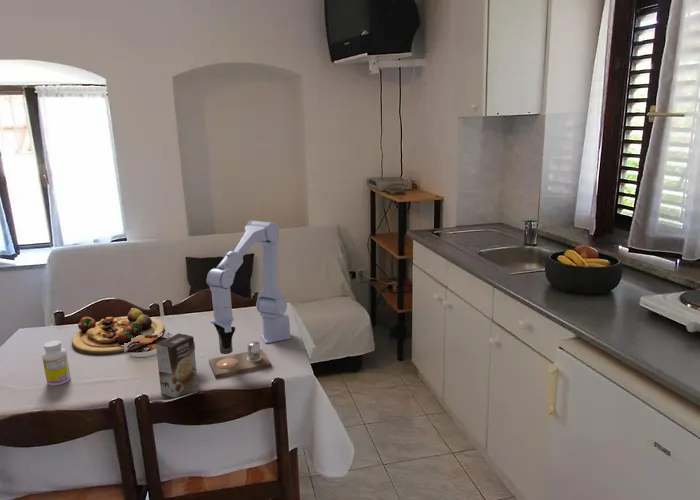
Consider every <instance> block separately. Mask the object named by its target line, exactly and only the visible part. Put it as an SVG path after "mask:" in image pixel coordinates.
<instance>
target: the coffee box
mask: <svg viewBox="0 0 700 500" xmlns="http://www.w3.org/2000/svg"><path fill="white" fill-rule="evenodd" d="M194 339H195V338H194V336H192V335H188V334H186V333H185V334H184V333H177V334H174V335H172V336H169V337H167V338H165V339H163V340H161V341H158V342H156V343H155V349H156V359H157V367H158V377H159V385H160V386H159V387H160V393H161V394H164V395H165V396H168V397H171V398H177V397H179V396H182V395H183V394H184V393H186V392H188V391H190V390H191V389H193V388H195V387H197V386H198V385H199V384H198V383H199V382H198V374H197V373H198V372H197V362H196V352H195V351H196V348H195V349H194V342H195V340H194Z"/></svg>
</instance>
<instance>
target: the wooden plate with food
mask: <svg viewBox="0 0 700 500" xmlns="http://www.w3.org/2000/svg"><path fill="white" fill-rule="evenodd" d="M77 327H78V331H77V332H76V333H75V334H74V335H73V337H72V338H71V345H72V347H73V349H74V350H76V351H77V352H79V353H82V354H86V355H90V356H91V355H92V356H93V355H94V356H107V355H108V356H109V355H118V354H122V353H125V352H124V349H125V348H124V346H121V345H124V343H128V342H130V341H131V338H134V337H136V336H138V335H142V334H147V333H152V332H154V333H157V334H161V333H163V334H164V332H165V325H164V324H163V323H162V321H160V320H159V319H156V318H154V317H153V318H152V317H150V316H149V315H146V314H144V313H143V311H141V310H140V309H138V308H136V307H132V308H130V310H129V311H128V313H127V315H126V316H119V317H118V316H117V317H113V316H107V317H105V319H104V318H102V319H100V320H99V321H96V320H95V319H94V318H92V317H90V316H84V317H83V316H82V318H81V319H80V321H79V322H78V324H77Z"/></svg>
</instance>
